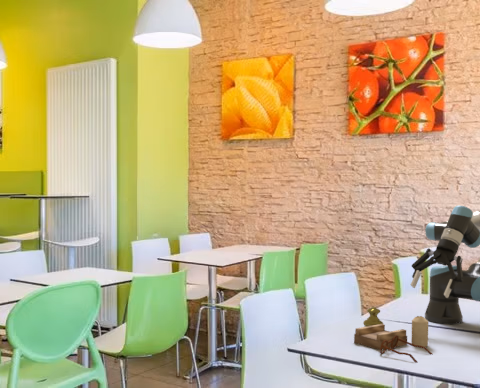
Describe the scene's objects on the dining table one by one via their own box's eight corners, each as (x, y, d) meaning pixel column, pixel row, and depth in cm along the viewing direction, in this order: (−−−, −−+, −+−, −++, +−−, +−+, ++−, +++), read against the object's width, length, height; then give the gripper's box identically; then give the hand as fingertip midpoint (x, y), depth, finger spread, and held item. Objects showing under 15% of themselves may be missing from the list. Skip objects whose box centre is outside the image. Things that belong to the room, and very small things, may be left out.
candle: (428, 347, 199) (429, 319, 199) (412, 346, 200) (412, 317, 200) (426, 343, 205) (427, 315, 205) (410, 342, 206) (411, 314, 206)
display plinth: (380, 337, 213) (380, 323, 213) (407, 344, 203) (407, 330, 203) (354, 342, 204) (354, 328, 204) (381, 350, 195) (381, 335, 195)
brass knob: (359, 333, 218) (359, 306, 218) (370, 330, 223) (371, 304, 223) (375, 337, 213) (375, 310, 213) (387, 334, 217) (387, 307, 217)
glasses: (395, 348, 199) (396, 333, 199) (432, 355, 191) (433, 340, 191) (378, 356, 189) (379, 340, 189) (417, 364, 181) (417, 348, 181)
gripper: (417, 231, 230) (395, 278, 224) (478, 245, 212) (457, 296, 206) (423, 240, 234) (403, 286, 229) (484, 254, 217) (463, 304, 211)
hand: (428, 291), depth 217 cm, fingers open, 13 cm apart
